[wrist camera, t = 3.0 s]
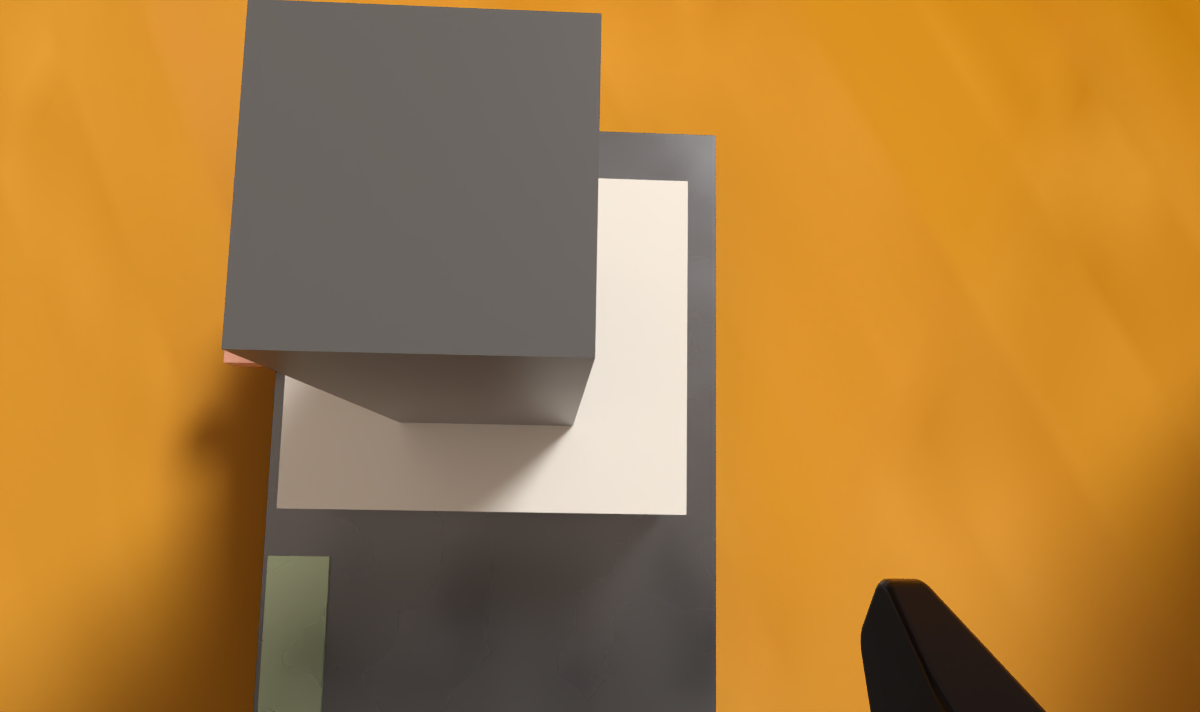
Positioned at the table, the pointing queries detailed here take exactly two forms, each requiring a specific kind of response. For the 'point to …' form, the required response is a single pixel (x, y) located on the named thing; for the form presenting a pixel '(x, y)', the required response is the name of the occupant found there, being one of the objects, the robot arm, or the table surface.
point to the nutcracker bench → (511, 563)
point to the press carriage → (453, 266)
